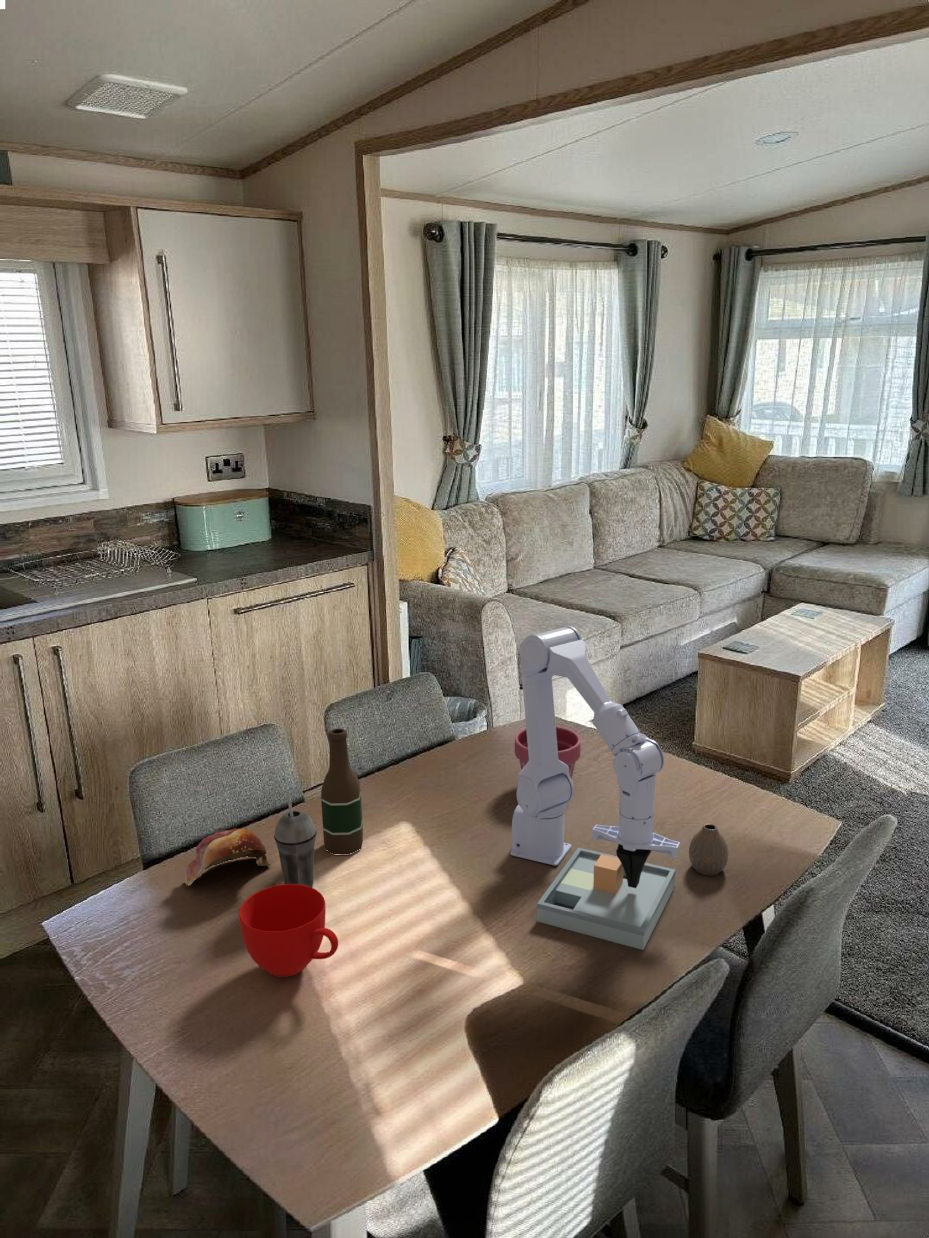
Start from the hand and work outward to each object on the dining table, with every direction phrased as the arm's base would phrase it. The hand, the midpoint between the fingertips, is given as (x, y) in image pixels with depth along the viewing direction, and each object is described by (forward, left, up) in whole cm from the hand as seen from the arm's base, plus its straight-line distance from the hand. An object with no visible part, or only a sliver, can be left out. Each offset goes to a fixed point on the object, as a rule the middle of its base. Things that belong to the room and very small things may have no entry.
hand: (633, 884), depth 153 cm
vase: (+9, +17, -4) cm, 19 cm away
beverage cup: (-54, -21, -4) cm, 58 cm away
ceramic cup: (-42, -38, -4) cm, 57 cm away
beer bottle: (-56, -4, -4) cm, 56 cm away
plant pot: (-29, +34, -4) cm, 45 cm away
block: (-4, 0, -2) cm, 5 cm away
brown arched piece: (-69, -23, -4) cm, 72 cm away
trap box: (-4, -1, -4) cm, 6 cm away
